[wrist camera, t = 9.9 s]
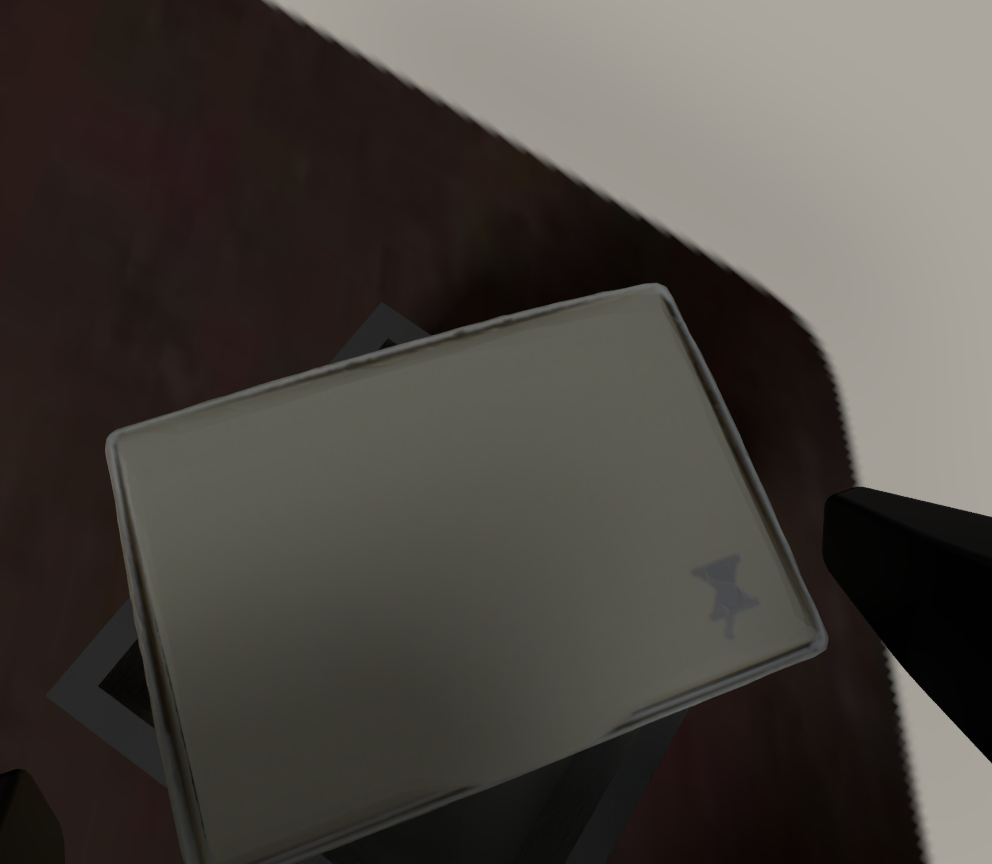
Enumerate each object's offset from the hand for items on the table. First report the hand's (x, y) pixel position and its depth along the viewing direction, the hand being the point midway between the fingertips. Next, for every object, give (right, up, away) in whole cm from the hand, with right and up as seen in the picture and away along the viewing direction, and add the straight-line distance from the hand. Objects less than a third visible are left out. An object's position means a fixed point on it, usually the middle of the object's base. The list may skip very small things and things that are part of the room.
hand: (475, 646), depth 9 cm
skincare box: (-1, -3, +10) cm, 11 cm away
